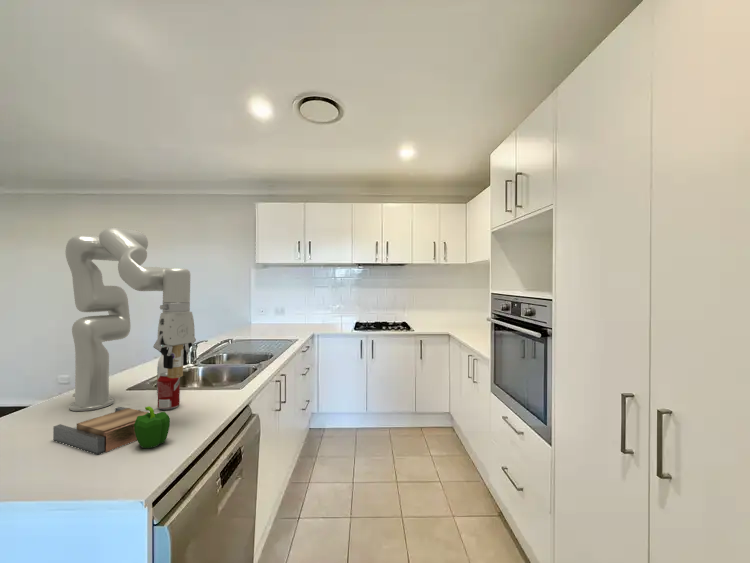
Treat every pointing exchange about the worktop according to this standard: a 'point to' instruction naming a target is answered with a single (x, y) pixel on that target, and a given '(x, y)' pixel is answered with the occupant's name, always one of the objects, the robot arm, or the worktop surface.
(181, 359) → the sprinkles bottle
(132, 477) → the worktop surface
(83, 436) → the roller track
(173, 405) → the soda can
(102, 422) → the slab
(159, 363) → the milk bottle
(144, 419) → the bell pepper
